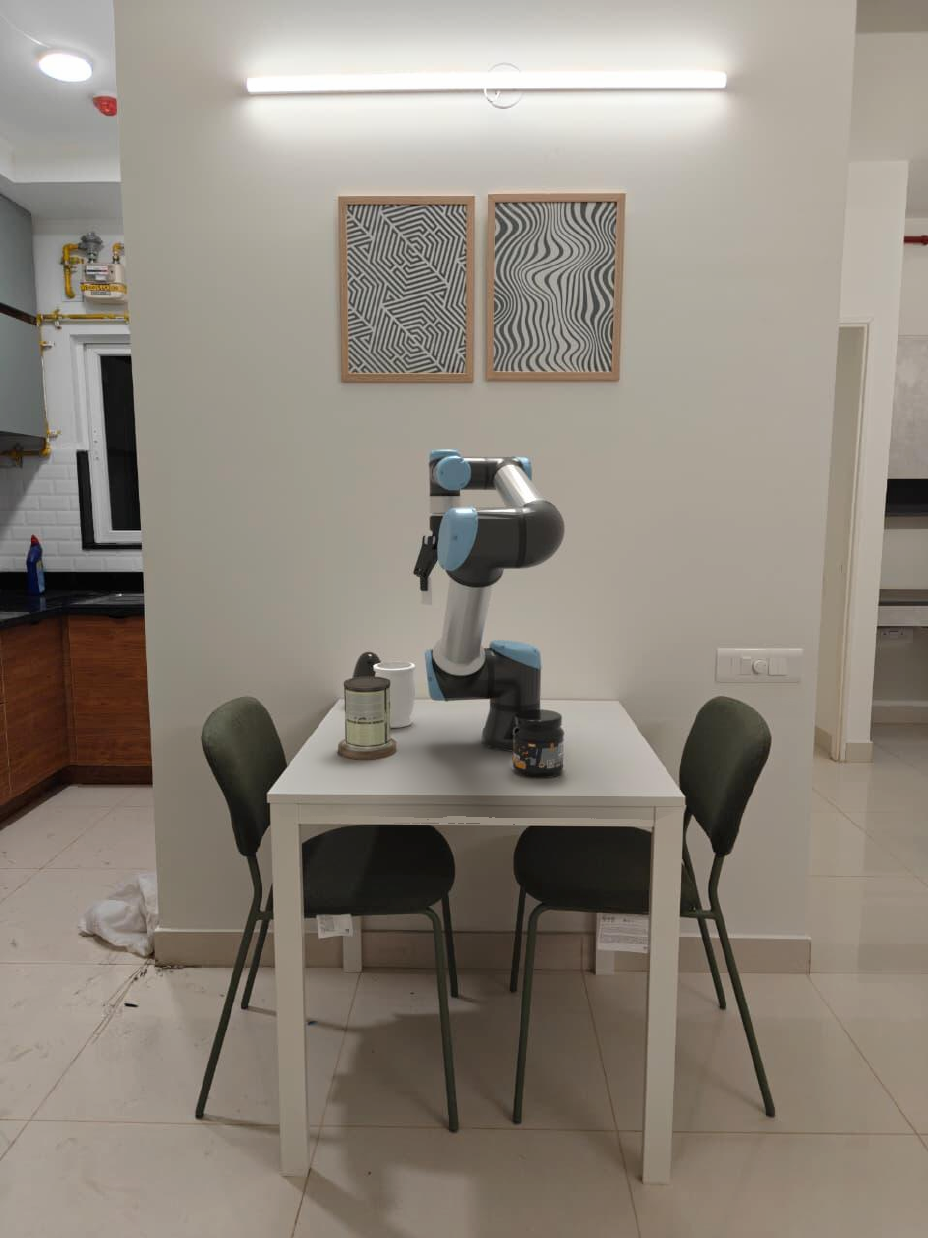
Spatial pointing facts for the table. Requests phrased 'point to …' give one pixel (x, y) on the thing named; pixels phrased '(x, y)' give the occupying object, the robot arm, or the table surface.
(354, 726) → the coffee can
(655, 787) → the table surface
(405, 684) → the jar
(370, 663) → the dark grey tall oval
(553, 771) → the supplement container
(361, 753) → the thin brown ring
